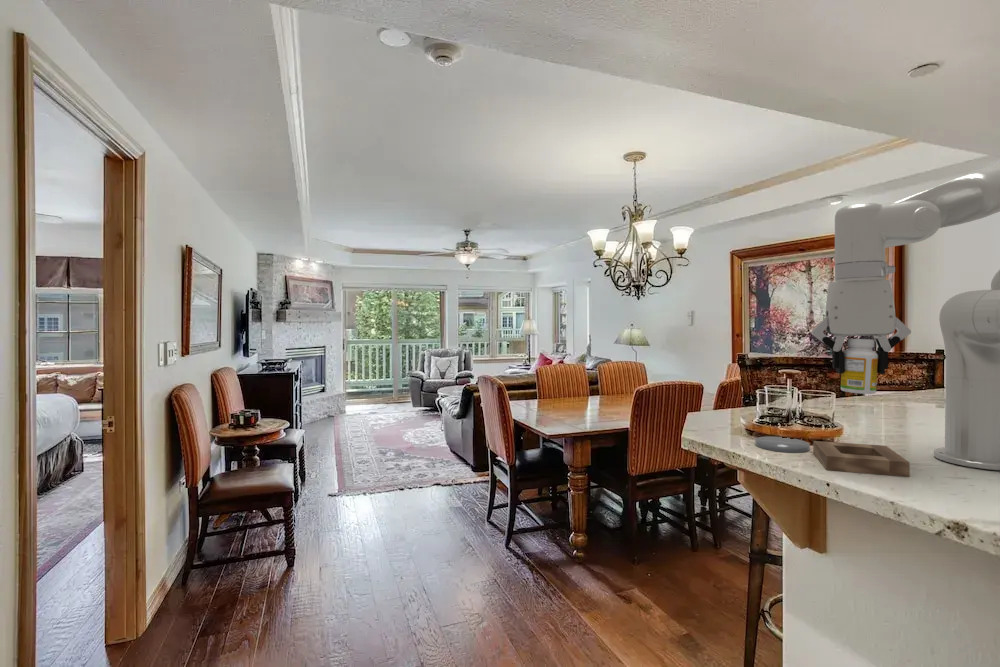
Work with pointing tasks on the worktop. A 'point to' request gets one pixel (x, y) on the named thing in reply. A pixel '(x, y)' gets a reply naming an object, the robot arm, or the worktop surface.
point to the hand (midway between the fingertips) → (859, 371)
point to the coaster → (782, 444)
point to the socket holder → (860, 458)
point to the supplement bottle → (860, 367)
